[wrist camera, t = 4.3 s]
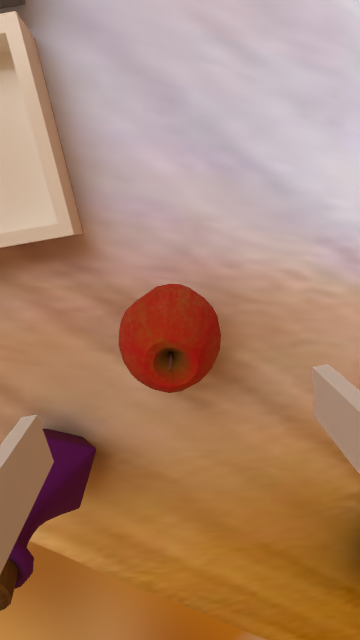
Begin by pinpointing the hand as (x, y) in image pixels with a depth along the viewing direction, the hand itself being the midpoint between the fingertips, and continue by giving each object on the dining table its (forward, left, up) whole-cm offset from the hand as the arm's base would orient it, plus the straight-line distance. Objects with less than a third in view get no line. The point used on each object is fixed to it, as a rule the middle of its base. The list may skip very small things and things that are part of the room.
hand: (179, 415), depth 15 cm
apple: (0, 0, -16) cm, 16 cm away
